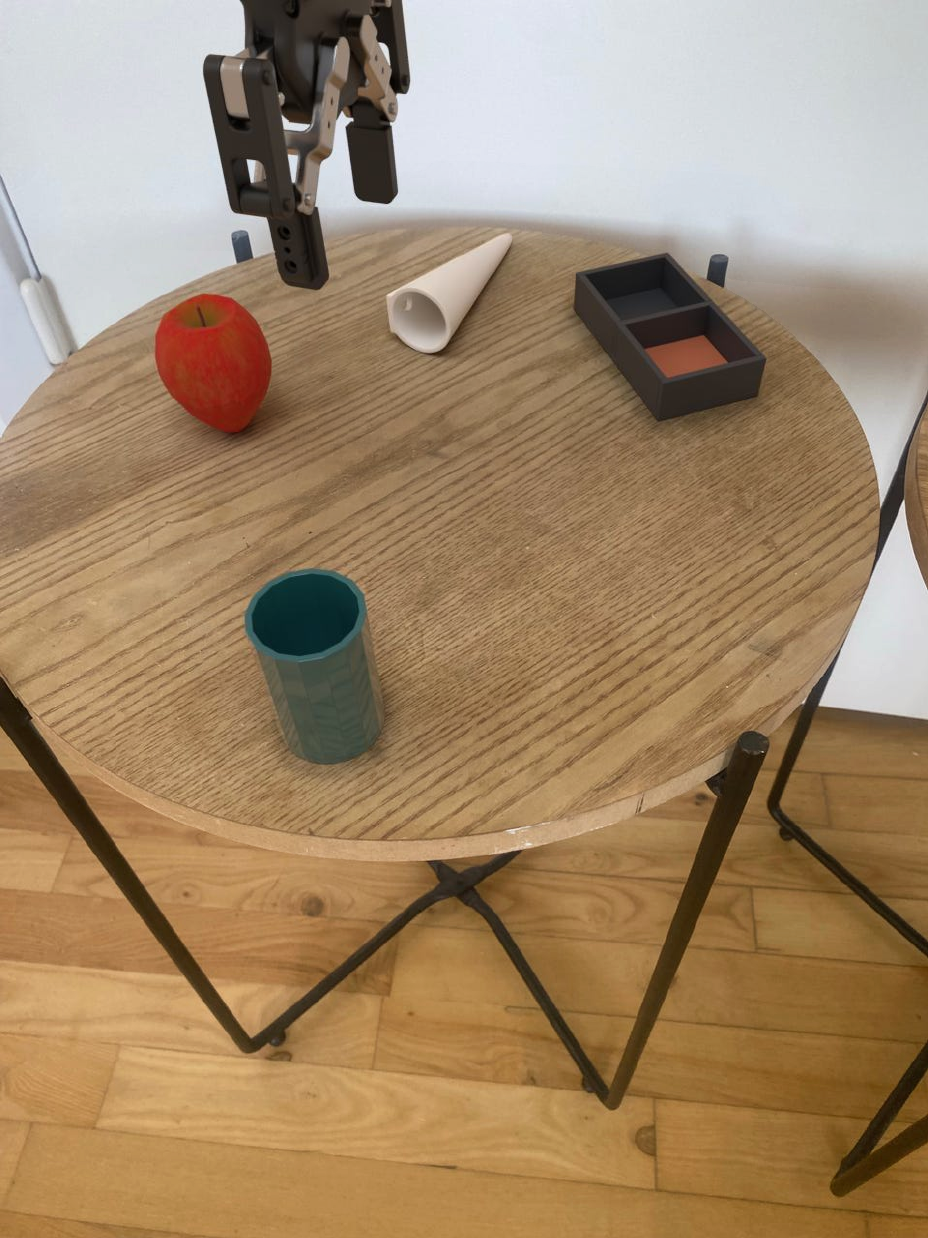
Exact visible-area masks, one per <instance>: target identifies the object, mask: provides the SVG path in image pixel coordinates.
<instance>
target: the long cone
mask: <svg viewBox="0 0 928 1238" xmlns="http://www.w3.org/2000/svg"><path fill="white" fill-rule="evenodd" d="M512 243H513V235H512V234H511V233H508V232H507V233H502V234H499V235H496V236H495V237H494V238H492V239H490V240H488V241H486V242H484V243H482V244H480V245H479V246H477V247H475V248H473V249H471V250H470V251H468V252H466V253H464V254H462V255H458V256H457V257H454V258H453V259H450V260H449V261H447V262H445V263H443V264H442V265H440V266H437V267H436V268H434V269H432V270H430V271H428V272H426V273H424V274H423V275H421V276H418V277H417V278H416V279H414V280H411V281H410V282H407V283H406V284H404V285H402V286H400V287H399V288H397V289H395V290H393V291H391V292H388V294H386V296H385V297H386V299H385V300H386V308H387V315H388V317H387V318H388V323H389V330H390V333H391V334H395V335H397V336H398V338H399V339H400V340H401V341H402V342H403V343H404V344H405V345H407V347H410V348H411V349H412V350H415V351H417V352H419V353H423V354H434V353H438V352H440V351H441V350H443V349H445V347H446V346H447V345H448V344H449V342H450V340H451V339H452V337H453V336H454V334H455V333H456V331H457V330H458V328H459V327H460V325H461V324H462V322H463V320H464V318H465V317H466V316H467V314H468V312H469V311H470V310H471V308H472V306H473V305H474V303H475V301H476V300H477V298H478V297H479V296H480V294H481V292H482V291H483V289H484V288H485V286H486V285H487V283H488V282H489V280H490V279H491V277H492V276H493V274H494V272H495V271H496V269H497V268H498V266H499V265H500V264H501V262H502V261H503V259H504V257H505V256H506V254H507V253H508V251H509V249H510V248H511V245H512ZM405 303H406V307H405V308H404V309H403V307H404V305H405Z"/></svg>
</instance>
